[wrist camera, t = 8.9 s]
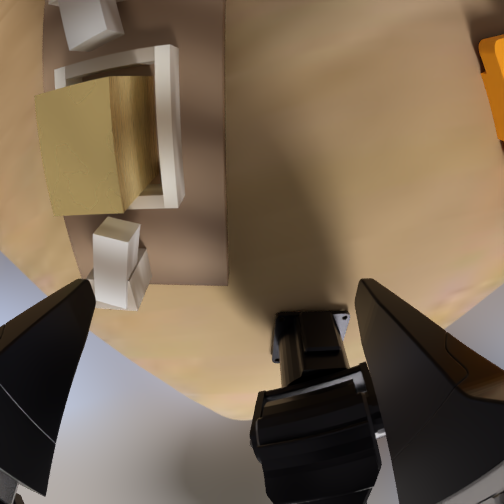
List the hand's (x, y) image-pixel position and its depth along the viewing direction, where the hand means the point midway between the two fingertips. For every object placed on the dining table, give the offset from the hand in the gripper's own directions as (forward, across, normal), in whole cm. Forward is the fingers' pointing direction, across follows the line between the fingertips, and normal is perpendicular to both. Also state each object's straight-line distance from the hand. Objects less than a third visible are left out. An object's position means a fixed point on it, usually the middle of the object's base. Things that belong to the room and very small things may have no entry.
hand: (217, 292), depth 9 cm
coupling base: (+12, +7, -4) cm, 14 cm away
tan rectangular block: (+10, +6, -4) cm, 13 cm away
